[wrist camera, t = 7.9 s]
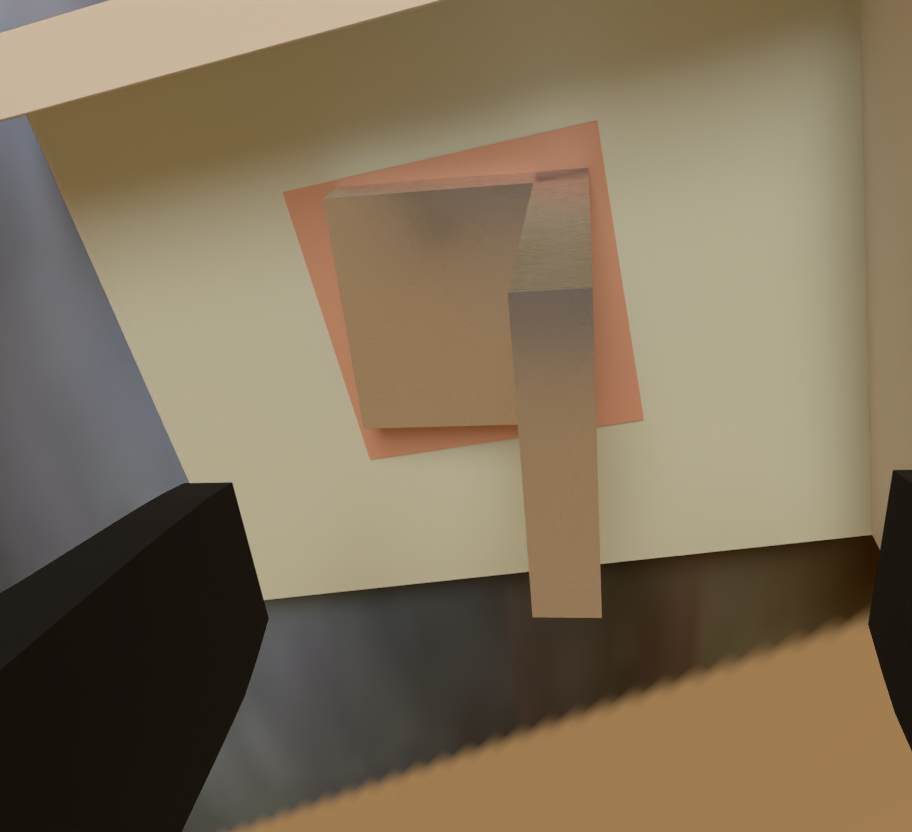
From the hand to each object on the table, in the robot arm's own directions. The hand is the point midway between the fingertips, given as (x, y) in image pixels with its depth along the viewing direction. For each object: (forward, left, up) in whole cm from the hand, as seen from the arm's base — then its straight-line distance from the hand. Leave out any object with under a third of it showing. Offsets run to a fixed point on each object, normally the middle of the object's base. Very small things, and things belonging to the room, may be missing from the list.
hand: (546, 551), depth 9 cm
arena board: (-1, 0, -10) cm, 10 cm away
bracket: (-2, 0, -9) cm, 9 cm away
